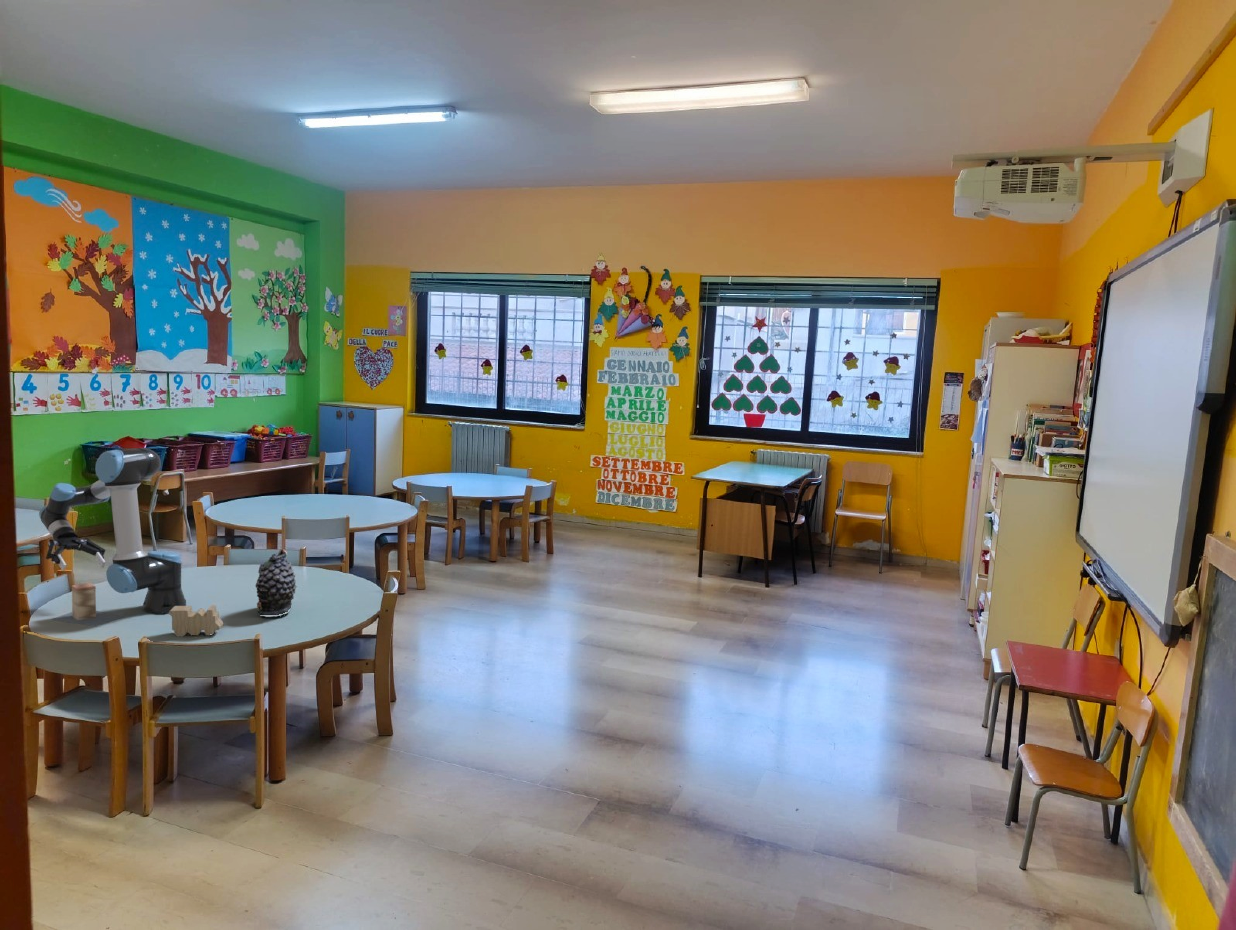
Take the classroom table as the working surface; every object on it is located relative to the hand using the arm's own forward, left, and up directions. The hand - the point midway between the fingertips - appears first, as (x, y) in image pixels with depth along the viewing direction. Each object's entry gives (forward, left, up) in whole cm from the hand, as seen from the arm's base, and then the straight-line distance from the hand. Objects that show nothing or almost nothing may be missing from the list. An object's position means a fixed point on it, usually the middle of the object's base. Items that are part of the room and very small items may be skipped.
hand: (84, 566), depth 308 cm
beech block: (-3, +4, -18) cm, 19 cm away
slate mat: (-5, +4, -19) cm, 20 cm away
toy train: (-51, +4, -19) cm, 55 cm away
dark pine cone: (-62, -28, -19) cm, 71 cm away
